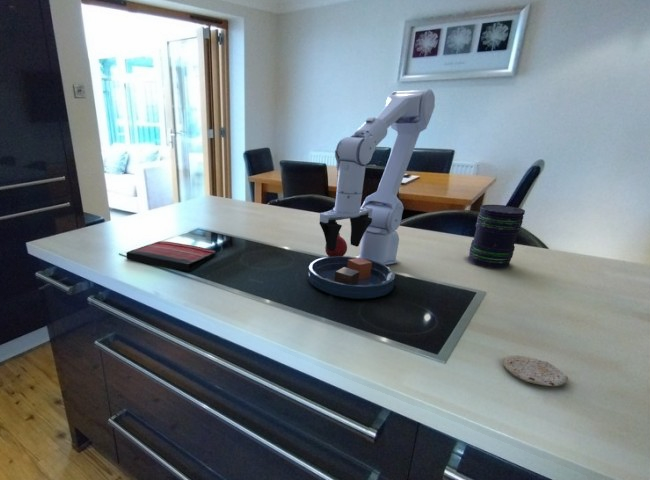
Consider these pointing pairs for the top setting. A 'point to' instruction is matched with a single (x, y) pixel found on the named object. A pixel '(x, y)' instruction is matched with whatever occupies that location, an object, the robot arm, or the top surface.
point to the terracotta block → (360, 267)
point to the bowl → (366, 288)
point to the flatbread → (534, 371)
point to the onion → (338, 248)
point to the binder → (171, 255)
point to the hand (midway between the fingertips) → (342, 247)
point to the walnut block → (347, 276)
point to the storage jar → (495, 236)
